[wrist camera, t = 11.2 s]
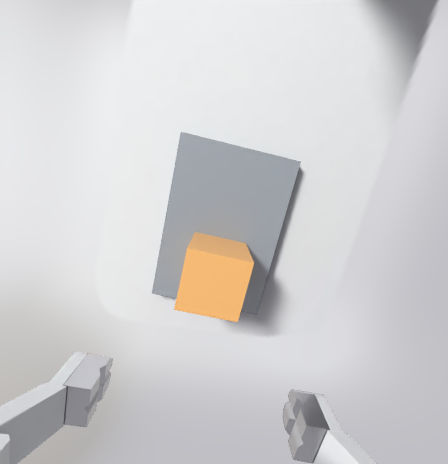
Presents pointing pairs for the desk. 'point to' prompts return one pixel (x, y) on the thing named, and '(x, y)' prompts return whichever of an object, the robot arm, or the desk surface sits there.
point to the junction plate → (224, 207)
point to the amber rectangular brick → (214, 277)
